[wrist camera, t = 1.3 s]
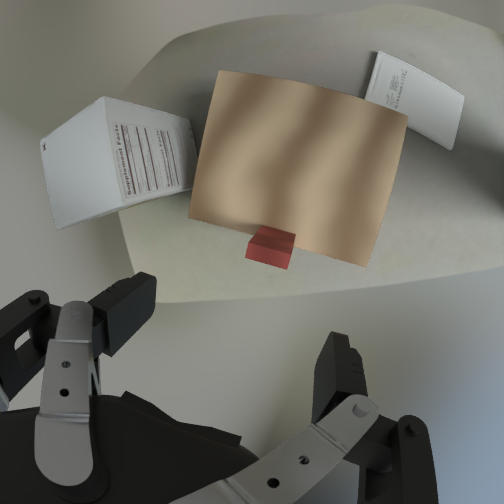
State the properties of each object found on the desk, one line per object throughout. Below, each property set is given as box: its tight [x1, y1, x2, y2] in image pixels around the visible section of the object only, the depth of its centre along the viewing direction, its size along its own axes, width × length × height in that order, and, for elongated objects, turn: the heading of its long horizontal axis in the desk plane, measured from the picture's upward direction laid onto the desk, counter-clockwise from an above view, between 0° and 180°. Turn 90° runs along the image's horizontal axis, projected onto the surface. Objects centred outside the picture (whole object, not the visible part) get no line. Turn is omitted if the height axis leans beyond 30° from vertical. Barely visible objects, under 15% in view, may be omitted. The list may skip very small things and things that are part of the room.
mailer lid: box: [188, 70, 409, 270], centre depth 21 cm, size 18×15×7 cm
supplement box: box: [40, 96, 198, 230], centre depth 26 cm, size 10×9×17 cm
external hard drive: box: [364, 51, 464, 150], centre depth 25 cm, size 2×8×12 cm
